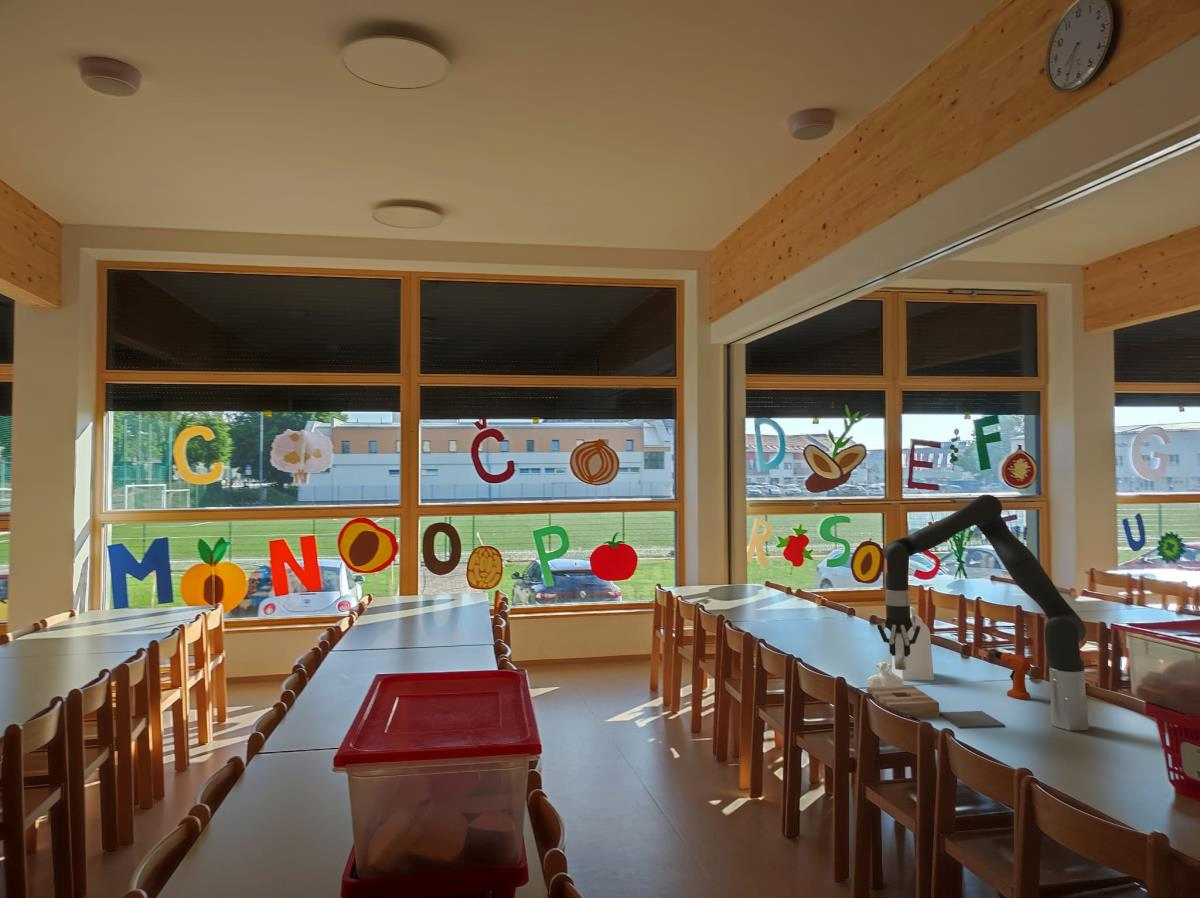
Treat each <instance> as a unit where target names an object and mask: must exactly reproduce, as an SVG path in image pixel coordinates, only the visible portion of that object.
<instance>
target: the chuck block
mask: <svg viewBox="0 0 1200 898" xmlns="http://www.w3.org/2000/svg"><path fill="white" fill-rule="evenodd" d="M867 692H868V693H870V694H872V695H873V696H874V697H875V698H876V699H877V700H879V701H880V702H881V703H883V704H885V705H887V706H889V707H892V708H895V709H897V710H899V711H900V712H902V713H905V714H907V715H910V716H912V717H914V718H913V719H917V718H919V717H921V718H923V719H925V718H927V717H928V718H940V717H941V716H940V715H939V712H940V703H939V702H938V701H937V700H936V699H934V698H932V697H931V696H929V695H928V694H926V693H924V692H923V691H922V690H920V689H919V688H918V687H916V686H914V685H903V686H890V687H870V686H867V687H866V693H867ZM921 718H919V719H921ZM928 718H927V719H928Z"/></svg>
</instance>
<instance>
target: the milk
mask: <svg viewBox="0 0 1200 898" xmlns="http://www.w3.org/2000/svg"><path fill="white" fill-rule="evenodd" d="M910 615H911V621H912V623H913V624H915V625H917V626H918V625H919V626H920V627H921V628H920V631H919V634H918V637H917V639H916V642H915V644H911V645H910V655H908V657H906V668H907V669H906V670H898V669H895V660H894V656H892V655H891V664H892V666H891V673H893V675H896V676H898V677H900V678H901V679H902V680H903V681H926V680H927V681H932V680H935V677H934V676H935V675H934V668H933V667H934V665H933V664H934V663H933V654H932V653H933V652H932V642H931V641H932V640H931V631H930V628H929V626H928V625H927V624H925V623H924V621H923V619H922V617H920V616H919V615H916V610H915V608H914V607H913V606H911V605H910ZM907 633H908V637H909V640H911V639H912V638H913V635H914V631H913V627H911V628H910V629H909V631H908V632H907ZM893 642H894V641H893ZM905 644H906V643H905Z"/></svg>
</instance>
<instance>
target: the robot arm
mask: <svg viewBox="0 0 1200 898" xmlns="http://www.w3.org/2000/svg"><path fill="white" fill-rule="evenodd" d="M1002 512H1003V505H1002V503H1001V500H999V498H998V497H996V496H994V495H991V494H983V495H978V496H977V497H975V498H974V499H973V500H971V501H970V502H969V503H967V504H966V505H965V506H963V507H962V508H960V509H958V510H957V511H955V512H953V513H951V514H950V515H948V516H946V517H944V518H942V519H940V520H938V521H935V522H933V523H930V524H928V525H927V526H924V527H922V528H920V529H918V530H916V531H914V532H912V533H910V534H908V535H905V536H903V537H900V538H897V539H895V540H892V541H890V542H888V543H887V544H885V546H884V548H883V550H882V555H883V558H884V559H885V560H886V569H887V571H886V574H885V599H884V601H885V615H886V619H885V621H884V622H883V623H882V622H881V623H877V629H878V632H879V634H880V636H881V638H882V641H883V643H887V644H888V645H889V654H890V655H891V657H892V656H894V642H893V641H894V635H895V632H899V633H903V637H904V640H905V643H906V645H905V654H906V657H908V655H910V645H911V644H915V642H916V639H917V637H918V634H919V631H920V628H921V627H920V626H919V625H918V626H917V625H915V624H913V623H912V621H911V615H910V606H911V598H910V597H911V596H910V591H909V577H908V576H909V567H910V564H909V563H910V557H912V556H914V555H916V554H922V553H924V552H927V551H929V550H931V549H933V548H936V547H938V546H940V545H942V544H943V543H945V542H947V541H948V540H949V539H951V538H954V537H955V536H956V535H958V534H960V532H962V531H964V530H965V531H966V530H967V529H969V528H972V527H973V526H976V527H977V528H978V530H979V532H981V533H982V534H983V536H984V537H985V538H986V539H987V540H988V542H989V544H990V545H991V546H992V548H993V550H994V552H995V553H996V555H997V557H998V558H999V560H1000V562H1001V563H1002V565H1003V566H1004V569H1006V571H1007V573H1008V574H1009V576H1010V577H1011V579H1012V580H1013V581H1014V583H1015V584H1016V586H1018V587H1019V588H1020V589H1021V590H1022V591H1023V592H1024V593H1025V594H1026V595H1027V596H1028V597H1030V598H1031V599H1032V600H1033V601H1034V602H1035V603H1036V604H1037V605H1038V606H1039V608H1040V609H1041V611H1043V612H1044V614H1045V617H1046V618H1047V619H1048V620H1047V622H1046V623H1045V627H1044V645H1045V646H1044V647H1045V655H1046V658H1047V660H1048V669H1049V671H1048V672H1049V689H1050V690H1049V694H1050V695H1049V696H1050V714H1051V715H1050V716H1051V717H1050V718H1051V725H1052V726H1054V727H1056V728H1059V729H1063V730H1066V731H1089V712H1088V711H1089V707H1088V698H1087V697H1086V678H1085V677H1086V675H1085V671H1086V670H1085V661H1084V659H1082V657H1081V653H1080V652H1081V651H1080V643H1081V642H1082V641H1083V640H1084V639H1085V638H1086V634H1087V629H1086V625H1085V623H1084V621H1083V620H1082V618H1081V617H1080V616H1079V615H1078V614H1077V612H1076V611H1075V610H1074V609H1073V608H1072V607H1071V606H1070V604H1069V603H1068V602H1067V601H1066V600H1065V598H1064V597H1063V596H1062V594H1061V593H1060V592H1059V590H1058V589H1057V587H1056V586H1055V584H1054V582H1053V581H1052V579H1051V578H1050V576H1049V575H1048V574H1047V572H1046V571H1045V569H1044V568H1043V566H1042V564H1041V563H1040V562H1039V560H1038V559H1037V558H1036V556H1035V554H1034V553H1033V552H1032V551H1031V550H1030V549H1029V548H1028V547H1027V545H1025V544H1024V543H1023V542H1022V541H1020V539H1019V538H1017V537H1016V536H1015V535H1014V534H1013V532H1012V531H1011V530H1010V529H1009V527H1008V525H1007V524H1006V522H1005V521H1004V519H1003V517H1002ZM911 627H913V631H914V635H913V638H912V639H911V640H909V637H908V633H907V632H908V631H909V629H910V628H911ZM886 628H887V629H888V630H889V631H890V634H889V635H890V636H889V637H887V634H886V632H885V629H886Z"/></svg>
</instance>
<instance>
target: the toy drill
mask: <svg viewBox="0 0 1200 898" xmlns="http://www.w3.org/2000/svg"><path fill="white" fill-rule="evenodd" d="M983 651H985V652H986V653H989V654H992V655H994V657H995V658H996V659H998V660H1000V662H1002V663H1003V664H1004V665H1006V666H1008V667H1009V668H1010V669H1011V674H1010V675H1009V678H1010V679H1011V680H1012V689H1009V690H1008V691H1006V696H1008V697H1010V698H1013V699H1017V700H1023V701H1028V700H1031V694H1030V692H1028V691H1027V687H1026V680H1025V679H1026V674H1028V673H1029V671H1030V670H1031V667H1032V664H1031V663H1030V660H1028V658H1026V657H1025V656H1024V655H1023V654H1015V653H1014V654H1013V653H1012V652H1002V651H999V650H997V651H993V650H991V649H988V648H984V650H983Z"/></svg>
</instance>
